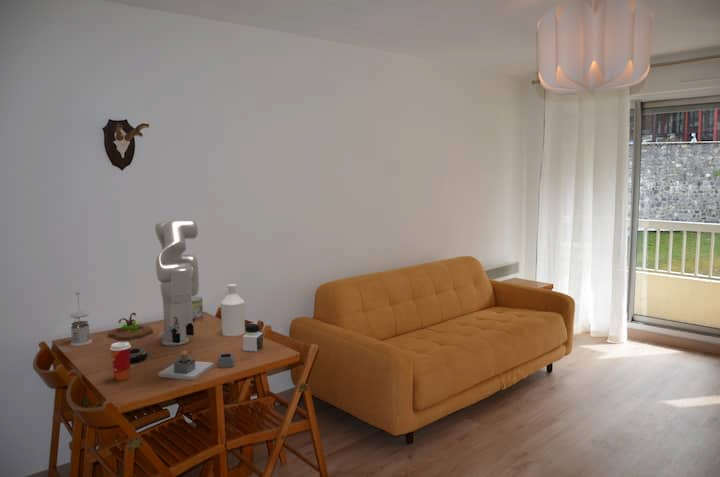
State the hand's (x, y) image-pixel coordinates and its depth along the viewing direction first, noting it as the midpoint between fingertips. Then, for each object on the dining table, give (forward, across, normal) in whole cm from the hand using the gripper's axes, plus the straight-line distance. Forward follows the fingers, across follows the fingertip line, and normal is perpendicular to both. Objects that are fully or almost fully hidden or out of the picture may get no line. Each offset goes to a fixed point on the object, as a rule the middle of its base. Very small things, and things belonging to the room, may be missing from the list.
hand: (183, 338), depth 220 cm
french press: (+17, -24, -72) cm, 78 cm away
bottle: (+16, -56, -7) cm, 59 cm away
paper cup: (+15, +11, -21) cm, 28 cm away
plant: (+17, -41, -57) cm, 72 cm away
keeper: (+15, -2, 0) cm, 15 cm away
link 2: (+15, -13, +12) cm, 23 cm away
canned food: (+17, -73, -41) cm, 86 cm away
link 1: (+13, +1, +1) cm, 13 cm away
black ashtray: (+16, -9, -31) cm, 36 cm away
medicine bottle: (+16, -35, +14) cm, 41 cm away
